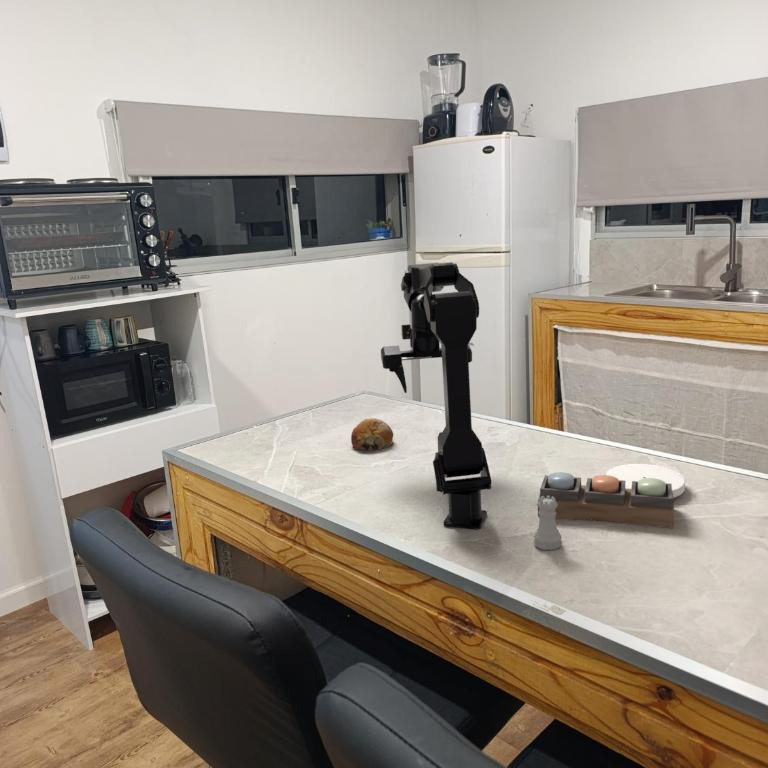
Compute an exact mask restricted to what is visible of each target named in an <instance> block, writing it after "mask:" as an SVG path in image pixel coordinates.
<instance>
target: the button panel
mask: <svg viewBox="0 0 768 768" xmlns="http://www.w3.org/2000/svg"><path fill="white" fill-rule="evenodd" d="M548 476H549V475H546V474H545V475H544V477H543V480H542V482H541V485H540V488H539V496H538V498H537V502H538V501H539V498H541V496H545V498H547V496H550V499H551V497H554V498H555V501H556V502H557V504H558V506H557V507H556V509H555V512H556V513H557V514H556V515H555V519H565V520H574V521H575V520H577V521H585V522H586V521H589V522H601V523H610V524H611V523H612V524H620V525H621V524H624V525H635V526H646V527H647V526H648V527H655V528H657V527H658V528H666V529H667V528H670V529H674V527H675V526H674V525H675V504H674V503H675V502H674V498H673V492H672V484H667V483H666V493H665V497H659V496H646V495H638V482H637V481H632V489H626V488H625V481H622V480H619V492H618V493H605V492H592V478H593V477H592V478H591V477H590V478H589V477H587V479H586V485H582V477H577V476H576V477H574V476H573V477H574V489H573V490H563V489H550V488H548ZM539 511H540V508H539V507H538V506H537V517H540V515H539V514H538V513H539Z"/></svg>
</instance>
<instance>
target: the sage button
mask: <svg viewBox="0 0 768 768" xmlns="http://www.w3.org/2000/svg"><path fill="white" fill-rule="evenodd" d="M665 493H666V483H665V482H664V481H662V480H659V479H655V478H644V479H641V480H639V481H638V495H646V496H659V497H665Z"/></svg>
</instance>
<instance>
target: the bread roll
mask: <svg viewBox="0 0 768 768" xmlns="http://www.w3.org/2000/svg"><path fill="white" fill-rule="evenodd" d="M350 438H351V439H350V441H351V446H352V447H353V448H354V449H355V448H356V450H358V451H365V452H367V451H370V452H371V451H377V450H378V451H379V450H382V449H384V448H388V447H390V445H392V444H393V442H394V441H393V440H394V439H393V438H394V431H393V429H392V427H391V426H390V425H389V424H388V423H387V422H385V421H383V420H382V419H379V418H373V417H372V418H365V419H363V420H361V421H360V422H359V423H358V424H357V425H356V426H355V427H354V428H353V430H352V432H351V436H350Z"/></svg>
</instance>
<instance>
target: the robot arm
mask: <svg viewBox="0 0 768 768" xmlns="http://www.w3.org/2000/svg"><path fill="white" fill-rule="evenodd" d="M451 286H452V287H454V289H455V291H454V292H453V291H452V292H442V293H436V292H441V291H442V290H443V289H444V288H445V287H451ZM400 287H401V289H400V290H401V292H403V299H404V301H405V303H406V305H407V307H408V310H409V311H410V314H411V324H408V323H407V324H401V327H400V328H401V338H402V340H409V341H410V343H409V346H410V348H411V349H412V350H411V349H410V350H401V348H400V345H389V346H383V347H382V348H381V349H380V359H381V364H382V368H383V369H385V370H387V369H388V371H389V372H390V373H395V375H396V377H397V379H398V380H399V382H400V384H401V387H402V389H403V392H404V393H405V394H406V393H407V391H408V390H407V381H406V376H405V369H404V366H403V361H410V360H411V361H412V360H422V359H424V360H425V359H437V358H441V360H442V361H441V363H442V366H441V367H442V379H443V380H442V382H443V383H442V384H443V399H444V414H445V419H444V420H445V427H444V428H443V430H442V432H439V434H438V435H437V452H435V453H434V454H435V455H434V459H433V461H432V466H433V471H434V472H433V473H434V478H435V479H434V480H435V489H436V492H439V493H442V495H443V496H444V495H447V501H448V514H447V516H446V517H445V519H444V521H442V523H443V526H446V527H453V528H454V527H456V528H465V529H467V528H468V529H475V530H476V529H481V527H482V524H483V523H484V521H485V519H486V517H487V515H488V511H487V510H484V509H482V491H483V490H491V489H492V478H491V476H492V475H491V472H490V468H489V464H488V460H487V456H486V451H485V449H484V447H483V444H482V441H481V440H480V438H479V437H478V436H477V434H476V432H475V431H474V430H473V425H472V423H473V422H472V408H471V405H472V404H471V389H470V387H471V385H470V366H469V363H471V362H473V351H472V348H471V346H470V345H469V344H470V342H471V340H472V338H473V336H474V334H475V332H476V331H477V330H478V329H477V322H478V318H479V316H480V304H479V303H480V302H479V299H478V295H477V293H476V290H475V285H474V284H473V282H471V281H470V280H468V279H467V278H466V277H465V276H464V275H463V274H461V273H460V271H459V267H458V264H457V263H454V262H451V261H450V262H432V263H431V262H430V263H419V264H418V263H417V264H409V265H408V266H407V270H405V271H404V274H403V277H402V279H401V284H400ZM440 346H441V347H440ZM476 475H480V476H476ZM468 476H473V477H468ZM474 476H476V477H474ZM457 477H463V478H457ZM464 477H465V478H464ZM448 478H449V480H447V479H448ZM450 478H457V479H450Z"/></svg>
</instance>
